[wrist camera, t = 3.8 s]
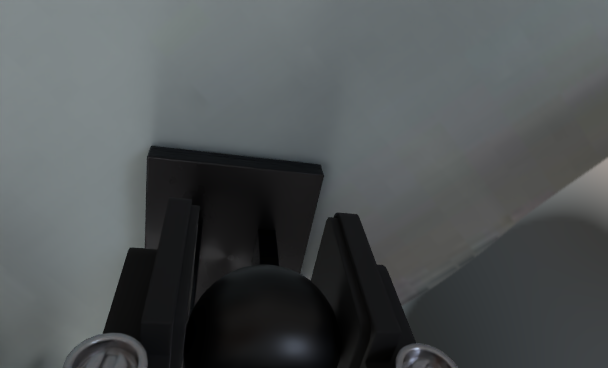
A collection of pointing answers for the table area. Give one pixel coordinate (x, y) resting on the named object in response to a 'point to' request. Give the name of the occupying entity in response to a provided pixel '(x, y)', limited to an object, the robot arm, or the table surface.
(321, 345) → the lever
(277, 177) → the black lever stand
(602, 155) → the table surface
